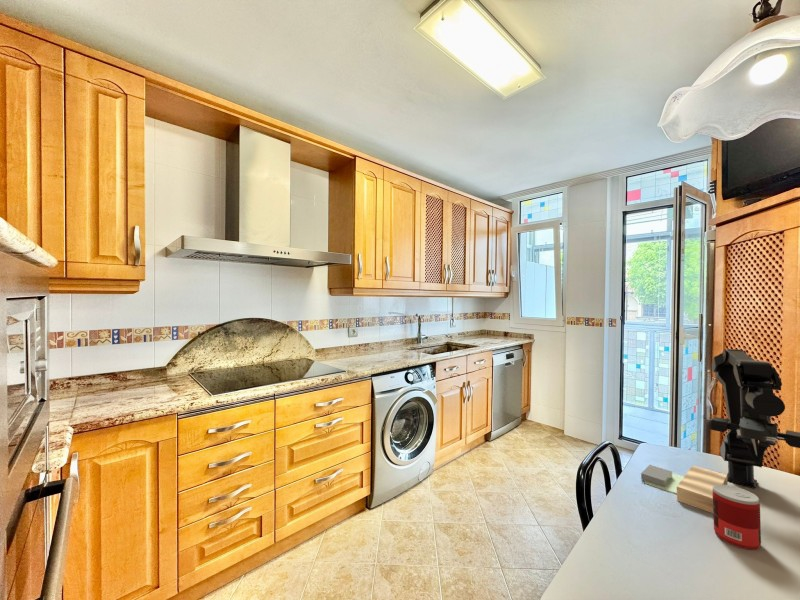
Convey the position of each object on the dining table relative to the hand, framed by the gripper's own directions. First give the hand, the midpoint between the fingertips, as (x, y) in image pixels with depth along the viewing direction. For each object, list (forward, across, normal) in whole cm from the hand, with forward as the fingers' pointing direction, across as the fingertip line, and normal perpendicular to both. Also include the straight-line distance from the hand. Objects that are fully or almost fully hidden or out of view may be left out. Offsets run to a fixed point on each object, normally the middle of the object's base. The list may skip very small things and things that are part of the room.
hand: (757, 462), depth 92 cm
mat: (+12, -19, -3) cm, 23 cm away
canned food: (+12, -2, -23) cm, 26 cm away
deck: (+12, -11, -4) cm, 17 cm away
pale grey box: (+10, -22, -4) cm, 24 cm away
